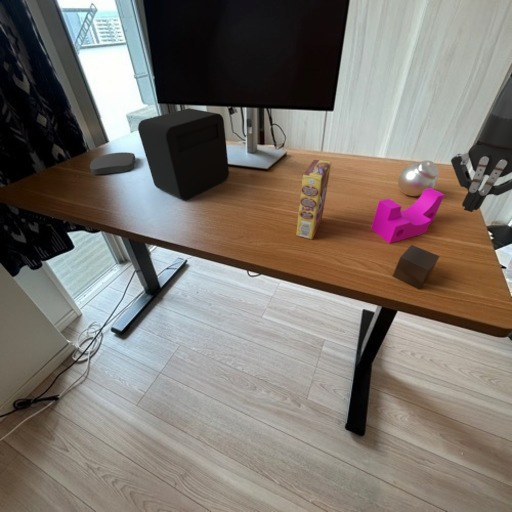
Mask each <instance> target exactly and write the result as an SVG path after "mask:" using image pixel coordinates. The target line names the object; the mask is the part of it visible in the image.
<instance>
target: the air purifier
mask: <svg viewBox="0 0 512 512" xmlns="http://www.w3.org/2000/svg"><path fill="white" fill-rule="evenodd" d="M137 125H138V126H137V129H138V135H139V138H140V142H141V144H142V148H143V152H144V154H145V159H146V161H147V165H148V168H149V172H150V174H151V178H152V181H153V184H154V186H155V188H157V189H158V190H161V191H163V192H165V193H167V194H170V195H172V196H174V197H176V198H179V199H180V200H182V201H188V200H190V199H192V198H195V197H196V196H198V195H200V194H203V193H204V192H207V191H208V190H210V189H212V188H214V187H217V186H218V185H220V184H222V183H224V182H226V181H227V180H228V178H229V177H230V176H229V175H230V168H229V158H228V149H227V139H226V129H225V128H226V127H225V120H224V117H223V115H222V114H220V113H217V112H212V111H207V110H200V109H195V108H185V109H181V110H176V111H172V112H168V113H165V114H161V115H157V116H153V117H148V118H145V119H142V120H141V121H139V123H138V124H137Z"/></svg>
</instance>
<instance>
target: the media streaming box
mask: <svg viewBox="0 0 512 512" xmlns="http://www.w3.org/2000/svg"><path fill="white" fill-rule="evenodd" d="M136 161H137V158H136V155H135V153H132V152H128V151H127V152H126V151H125V152H121V151H120V152H113V153H107V154H103V155H101V156H98V157H95V158H93V159H92V160H91V162H90V164H89V170H90V172H91V174H92V175H108V174H116V173H123V172H127V171H131V170H133V168H135V166H136Z"/></svg>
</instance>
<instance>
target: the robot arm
mask: <svg viewBox="0 0 512 512" xmlns="http://www.w3.org/2000/svg"><path fill="white" fill-rule="evenodd" d="M469 160H470V161H469ZM469 162H470V164H471V168H472V170H473V172H474V174H473V177H471V174H470V172H469V169H468V166H467V164H468V163H469ZM450 163H451V165H452V168H453V170H454V173H455V176H456V178H457V181H458V184H459V186H460V187H461V188H465V189H466V190H467V193H466V195H465V197H464V200H463V201H462V204H461V206H462V207H463V211H467V212H470V213H473V212H474V211H477V210H479V209H480V208H481V207H482V205H483V203H484V202H485V200H486V197H487V196H489V195H490V196H491V195H493V196H497V197H498V196H500V195H502V194H505V193H507V192H509V191H512V178H510V179H507V180H506V181H504V182H502V183H500V184H498V185H495V184H496V182H497V181H498V179H499V178H503V177H505V176H508V175H510V174H511V173H512V70H511V72H510V73H509V76H508V77H507V79H506V81H505V83H504V84H503V87H502V88H501V90H500V91H499V93H498V95H497V97H496V98H495V102H494V103H493V105H492V108H491V110H490V112H489V114H488V116H487V118H486V121H485V123H484V125H483V127H482V129H481V131H480V133H479V136H478V138H477V140H476V141H475V144H473V145H472V146H471V147H470V148H469V149H468V151H465V152H464V153H457V154H455V155H454V156H453V157H452V158H451V159H450ZM486 176H488V178H487V180H486V181H485V183H484V184H483V181H484V179H485V178H486ZM482 184H483V186H482ZM481 186H482V187H481Z"/></svg>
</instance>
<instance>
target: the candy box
mask: <svg viewBox="0 0 512 512" xmlns="http://www.w3.org/2000/svg"><path fill="white" fill-rule="evenodd" d="M331 167H332V161H329V160H321V159H313V160H312V161H311V163H310V164H309V166H308V168H306V170H305V172H304V173H302V181H301V189H300V196H299V198H300V199H299V207H298V215H297V225H296V233H295V234H296V235H295V236H296V237H299V238H304V239H307V240H313V239H314V236H315V234H316V232H317V230H318V228H319V226H320V225H321V222H322V221H323V214H324V208H325V204H326V203H325V202H326V198H327V197H326V196H327V192H328V185H329V179H330V172H331V169H332V168H331Z"/></svg>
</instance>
